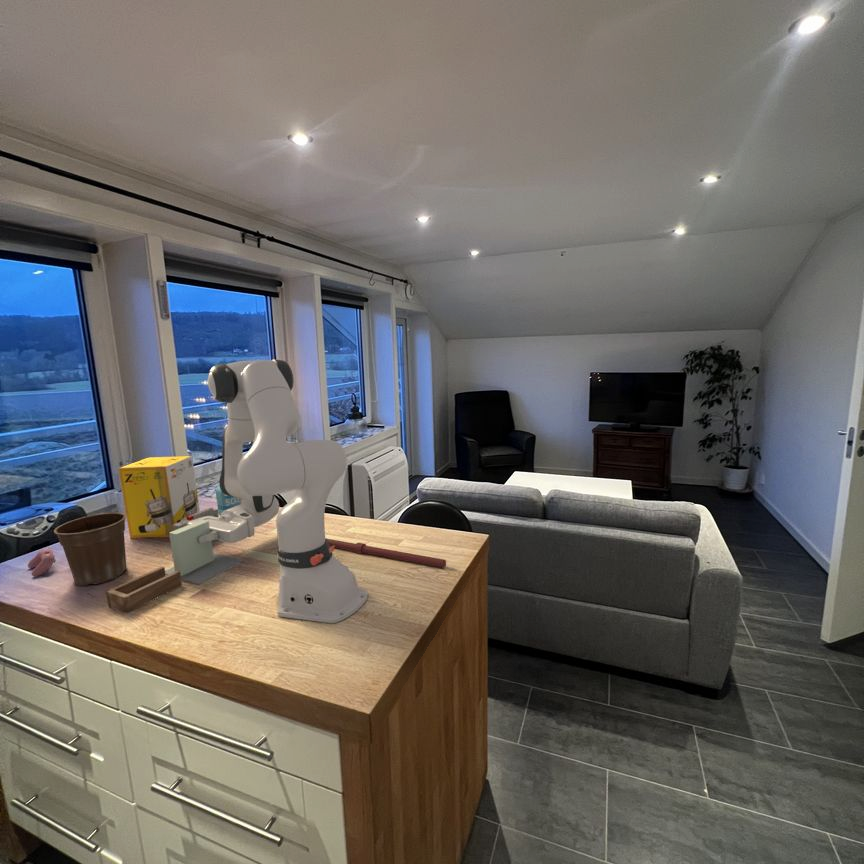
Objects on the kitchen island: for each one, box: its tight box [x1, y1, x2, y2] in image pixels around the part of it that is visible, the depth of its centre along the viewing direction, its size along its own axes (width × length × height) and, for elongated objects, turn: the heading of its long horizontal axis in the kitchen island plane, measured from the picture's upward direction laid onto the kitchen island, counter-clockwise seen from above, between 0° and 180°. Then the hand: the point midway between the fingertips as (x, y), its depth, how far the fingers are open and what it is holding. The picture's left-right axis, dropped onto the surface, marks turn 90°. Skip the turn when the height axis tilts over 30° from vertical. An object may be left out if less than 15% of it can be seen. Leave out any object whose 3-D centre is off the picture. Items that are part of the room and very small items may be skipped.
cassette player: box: [172, 506, 220, 531], centre depth 149 cm, size 16×3×10 cm, turn 160°
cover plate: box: [169, 520, 214, 575], centre depth 127 cm, size 3×10×12 cm, turn 154°
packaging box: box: [118, 455, 201, 539], centre depth 161 cm, size 16×16×25 cm
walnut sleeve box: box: [105, 566, 183, 614], centre depth 116 cm, size 8×14×4 cm, turn 154°
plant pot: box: [53, 512, 128, 587], centre depth 127 cm, size 16×16×16 cm
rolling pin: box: [325, 537, 447, 569], centre depth 134 cm, size 45×3×3 cm, turn 64°
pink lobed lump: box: [27, 548, 57, 578], centre depth 134 cm, size 10×5×7 cm, turn 48°
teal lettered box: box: [215, 485, 241, 516], centre depth 176 cm, size 12×4×12 cm, turn 144°
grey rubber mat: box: [165, 552, 245, 585], centre depth 131 cm, size 16×15×1 cm
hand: (193, 539), depth 128 cm, fingers closed on cover plate, 3 cm apart
